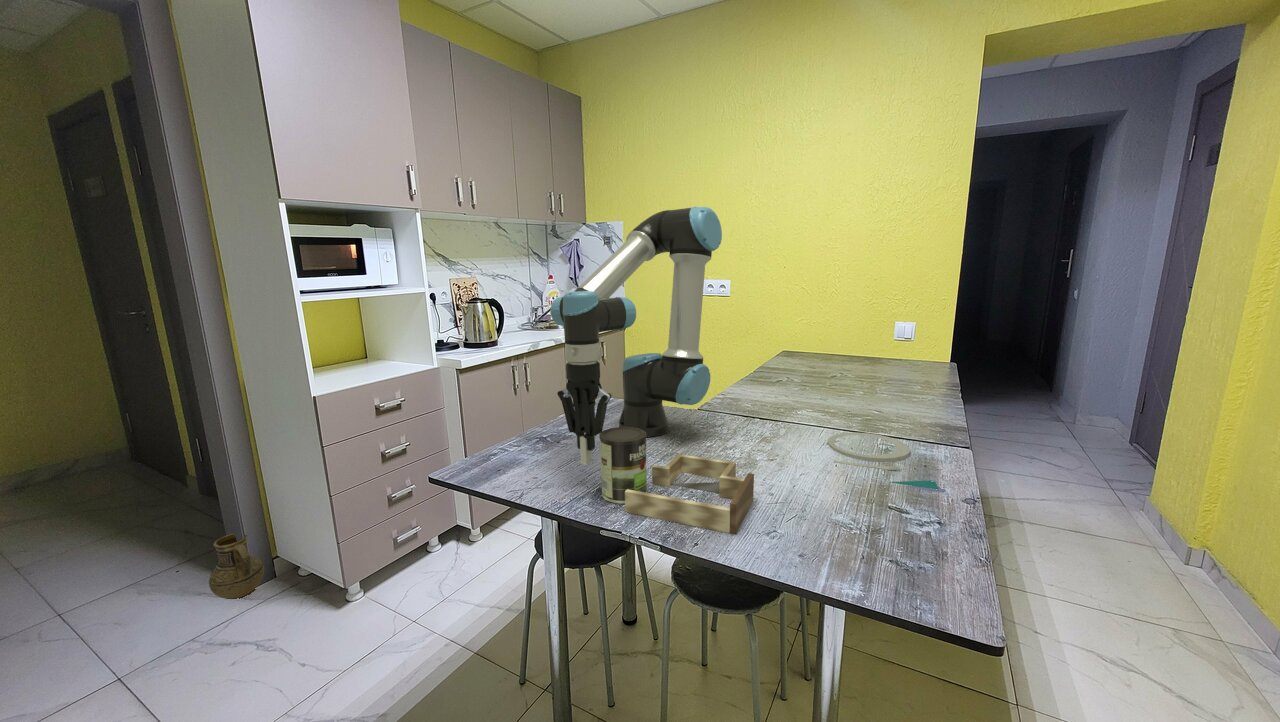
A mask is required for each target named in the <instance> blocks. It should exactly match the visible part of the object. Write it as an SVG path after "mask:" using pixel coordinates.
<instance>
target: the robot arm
mask: <svg viewBox="0 0 1280 722" xmlns="http://www.w3.org/2000/svg"><path fill="white" fill-rule="evenodd" d="M722 237H723V230H722V224H721V222H720V219H719V217H718V215H717V213H716V212H715V211H714V210H713V209H712V208H710V207H707V206H692V207H685V208H678V209H667V210H662V211H659V212H656V213H654V214H652V215H651V216H649V217H647V218H645V220H643V221H641V222H640V223H639V224H638V225H636V226H635V227H634V228H633V229H632V230H631V231H630V232H629V233H628V234H627V235H626V237H625V238H626V239H625V242H624V243H623V244H622V245H621V246H619V247H618V249H617V250H615V252H614V253H612V255H610V256H609V257H608V258H607V259H606V260H605V261H604V262H603V263H602V264H601V265H600V266H599V267H598V268H597V269H596V270H594V272H592V274H591V275H589V276H588V277H587V278H586V280H585V281H583V282H582V283H580V285H579V286H578V287H576V289H575V290H574V291H567V292H566V293H564V295H562V296H558V297H557V298H555V299H554V300H553V301H552V303H551V305H550V310H549V311H550V313H549V314H550V318H551V320H552V321H553V323H554V324H556V325H558V326H560V327H561V326H562V327H563V333H564V352H565V353H564V355H565V356H564V357H565V361H566V362H567V363H566V364H565V374H566V375H565V378H566V380H567V382H566V385H565V388H563V389H561V390H559V391H557V393H556V394H557V396H558V397H559V400H560V401H561V405H562V407H563V413H564V416H565V420H566V424H567V428H568V432H569V433H573V434H575V436H576V442H577V443H576V445H577V446H576V447H577V449H578V450H579V449H580V450H579V452H580V465H581V466H582V465H584V466H588V465H589V464H591V463H592V462H593V461H594V460H593V450H594V449H595V448H596V442H595V441H596V440H595V439H596V438H595V437H596V436H598V435H599V434H600V433H601V432H602V431H604V430H603V428H604V424H605V420H606V414H607V408H608V403H609V402H610V400H611V399H612V393H610V392H608V393H607V392H606V391H605V390H603V389H602V385H601V380H600V379H601V363H600V362H599V360H600V359H601V357H600V355H601V354H600V333H603V332H605V333H606V332H610V331H611V332H612V331H617V330H619V331H622V330H624V329H625V330H626V329H628V328H630V327H632V326H633V325H634V323H635V321H636V319H637V307H636V306H635V304H634V302H633V300H632V299H630V298H628V297H623V296H621V297H620V296H616V297H612V296H613V294H615V293H616V292H617V290H618V289H619V288H621V286H622V285H624V284H625V282H626V281H627V280H629V278H630V277H631V276H632V275H633V274H634V273H635V272H636V271H637V270H638V269H639V268H640V267H641V266H642V265H643V264H644V263H645V262H649V261H650V262H651V261H652V260H653V259H654V257H656V256H657V255H660V254H664V253H665V254H666V253H669V256H668V257H669V259H671V260H672V261H673V264H674V266H673V275H672V289H671V291H672V292H671V302H670V303H671V304H670V316H669V317H670V319H669V329H668V343H667V349H666V350H665V351H664V352H663V353H660V352H652V353H643V354H635V355H630V356H627V357H625V358H624V359H623V362H622V371H621V373H622V388H623V391H622V392H623V406H622V410H621V414H620V418H619V420H618V427H634V428H639V429H642V430H644V431H645V432H646V438H648V437H656V436H661V435H664V434H666V433H667V432H668V431H669V420H668V417H667V415H666V412H665V408H664V405H663V402H664V401H665V402H670V403H674V404H675V403H676V404H677V405H678V404H679V405H688V406H694V405H696V404H699V403H700V402H701V401H702V400H703V399H704V397H705V396H706V395H707V393H708V390H709V389H710V385H711V372H710V369H709V367H708V366H707V365H705V364H704V356H703V355H702V353H701V352H700V351H699V349H700V348H699V347H700V338H701V337H700V336H701V335H700V334H701V323H702V322H701V321H702V310H703V299H704V288H705V287H704V284H705V272H706V265H707V263H709V262H710V261H711V260H712V255H713V254H712V253H713V252H715V251H716V250H718V249H719V247H720V245H722V244H721V243H722V239H723V238H722ZM597 398H598V399H597ZM596 399H597V400H598V403H597V407H595V406H596ZM595 408H596V410H595ZM595 411H596V412H595Z"/></svg>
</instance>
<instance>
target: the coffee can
mask: <svg viewBox="0 0 1280 722" xmlns="http://www.w3.org/2000/svg"><path fill="white" fill-rule="evenodd" d="M598 435H599V440H600V441H599V443H600V444H599V446H600V449H599V450H600V474H601V475H600V476H601V478H600V479H601V497H602V498H603V499H604V500H605V501H607V502H609V503H612V504H619V505H620V504H621V505H623V504H624V505H625V491H626V490H627V489H629V490H634V491H640V492H645V493H648V491H647V489H648V488H647V485H648V484H647V437H646V432H645V431H644V430H642V429H639V428H634V427H619V426H618V427H615V426H614V427H611V428H607V429H604V430H602V432H601V433H599V434H598Z"/></svg>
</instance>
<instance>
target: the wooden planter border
mask: <svg viewBox="0 0 1280 722" xmlns="http://www.w3.org/2000/svg"><path fill="white" fill-rule="evenodd" d="M736 470H737V462H734V461H729V460H721V459H713V458H708V457H700V456H693V455H686V454H681V453H680V454H677V455H676V456H674V457H673V458H672V459H671V460H670V462H668V463H667V464H666V465H665V466H663V465H657V464H653V465H652V466H651V484H652V485H655V486H661V487H666V488H669V487H671V486H676V487H680V488H682V487H683V488H686V489H692V490H698V491H703V492H708V493H713V494H718V495H719V496H718V497H720V498H725V499H731V502H729V507H726V506H722V505H721V506H720V505H716V504H712V503H711V504H710V503H704V502H700V501H694V500H688V499H683V498H679V497H678V498H677V497H671V496H666V495H661V494H655V493H650V492H647V493H645V492H640V491H634V490H629V489H627V490H626V491H625V504H624V510H625V513H629V514H634V515H638V516H645V517H648V518H653V519H659V520H663V521H668V522H673V523H676V524H677V523H678V524H683V525H688V526H693V527H697V528H703V529H707V530H712V531H717V532H722V533H727V534H732V535H737V533H738V532H739V529H740V527H741V526H742V523H743V522H744V519H745V517H746V515H747V513H748V511H749V509H750V508H751V506H752V503H753V502H754V492H755V489H754V487H755V480H754V479H755V473H752V472H748V473H747V475H746V476H745V478H741V477H737V476H736V473H737V471H736ZM682 473H683V474H688V475H694V476H699V477H700V476H701V477H705V478H711V479H716V480H719V482H690V483H689V482H688V483H686V482H684V483H673V482H674V481H675V480H676V479H677V477H679V475H680V474H682Z"/></svg>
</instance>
